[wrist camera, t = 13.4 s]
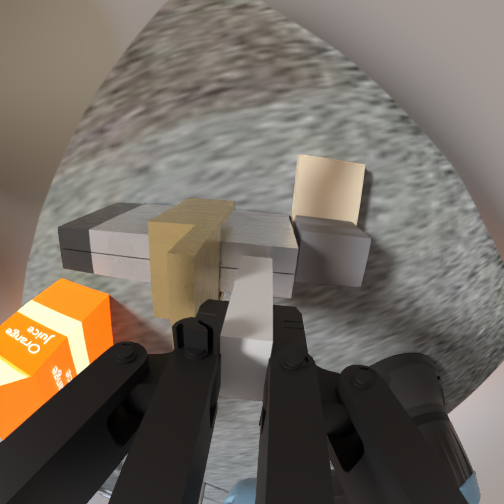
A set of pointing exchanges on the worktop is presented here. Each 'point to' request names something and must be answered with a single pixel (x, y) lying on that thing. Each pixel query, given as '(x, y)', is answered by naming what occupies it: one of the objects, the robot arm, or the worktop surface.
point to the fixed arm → (141, 270)
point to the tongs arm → (137, 215)
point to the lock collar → (186, 256)
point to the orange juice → (49, 347)
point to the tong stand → (329, 222)
